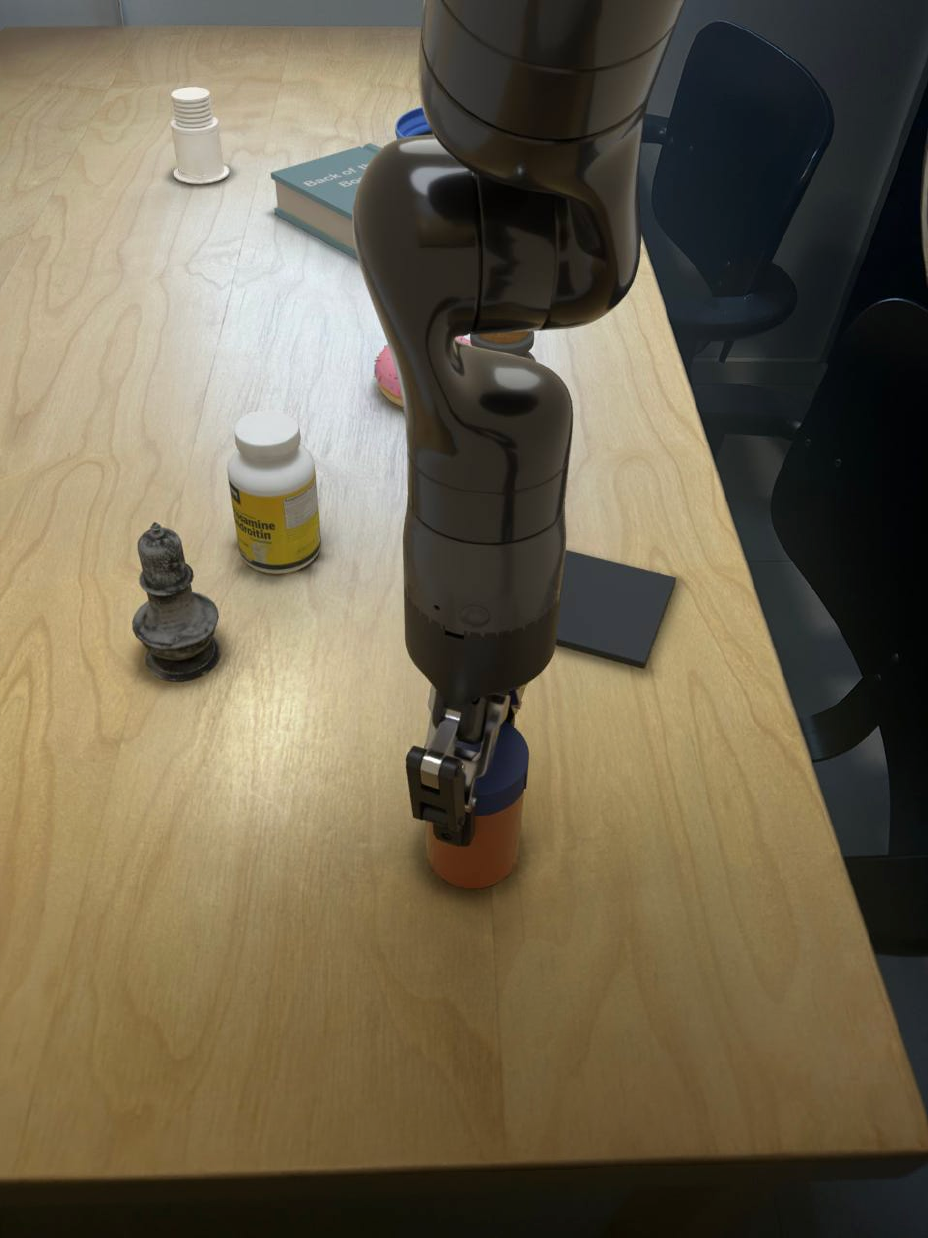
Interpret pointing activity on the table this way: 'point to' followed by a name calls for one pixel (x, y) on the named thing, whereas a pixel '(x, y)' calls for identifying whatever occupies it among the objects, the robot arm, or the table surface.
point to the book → (324, 195)
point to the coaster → (611, 608)
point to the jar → (479, 850)
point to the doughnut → (393, 374)
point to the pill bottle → (274, 493)
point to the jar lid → (502, 772)
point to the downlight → (196, 137)
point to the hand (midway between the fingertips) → (473, 794)
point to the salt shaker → (173, 611)
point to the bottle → (506, 343)
